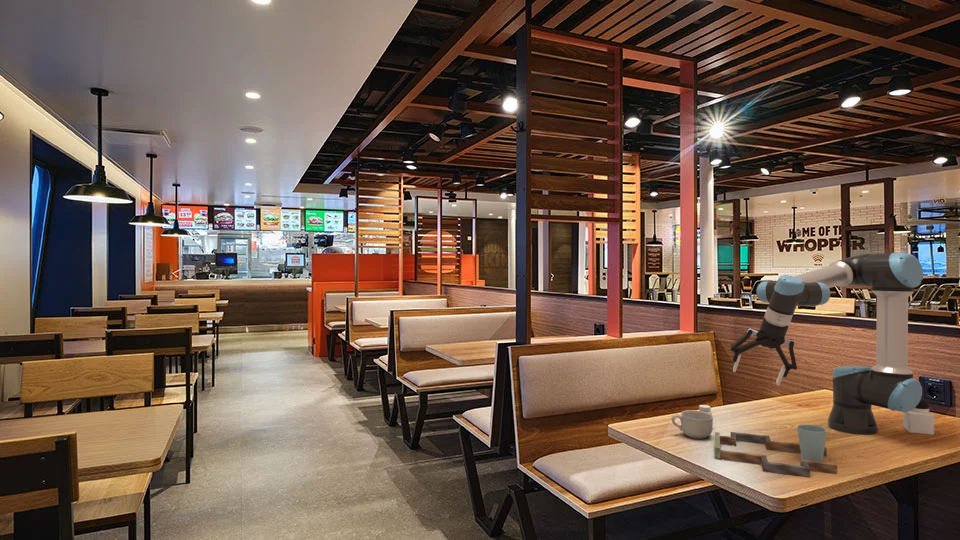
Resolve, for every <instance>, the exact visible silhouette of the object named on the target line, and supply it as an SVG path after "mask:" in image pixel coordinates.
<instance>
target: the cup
mask: <svg viewBox="0 0 960 540" xmlns="http://www.w3.org/2000/svg"><path fill="white" fill-rule="evenodd" d="M796 428H797V433H798V442H799V443H798V444H800V451H801V453H800V457H801V460H810V461H818V462H824V461H823V460H824V457H825V456H824V447H826V446H825V445H826V436H827V429H826V428H824V427H823V426H819V425H813V424H798V425H797V426H796Z"/></svg>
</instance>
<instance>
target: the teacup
mask: <svg viewBox="0 0 960 540" xmlns="http://www.w3.org/2000/svg"><path fill="white" fill-rule="evenodd" d="M676 418H678V419H679V421H680V424H681V425H680V424H678V423H677V422H675V421H676V420H675V419H676ZM713 419H714V416H713V414H712V415H711V414H709V413H706V412H703V411H699V410H695V409H690V410H689V409H686V410H683V411H681V413H680V414H677V413H676V414H673V415H672V417H671V422H672V424H673V426H675V427H677V428H678V429H679V430H680V431H681V432H683V433H684V434H685V435H686V436H687V437H689V438H691V439H696V440H697V439H699V440H703V439H707V438H708V437H710V435H712V433H713V425H714V421H713Z"/></svg>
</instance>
